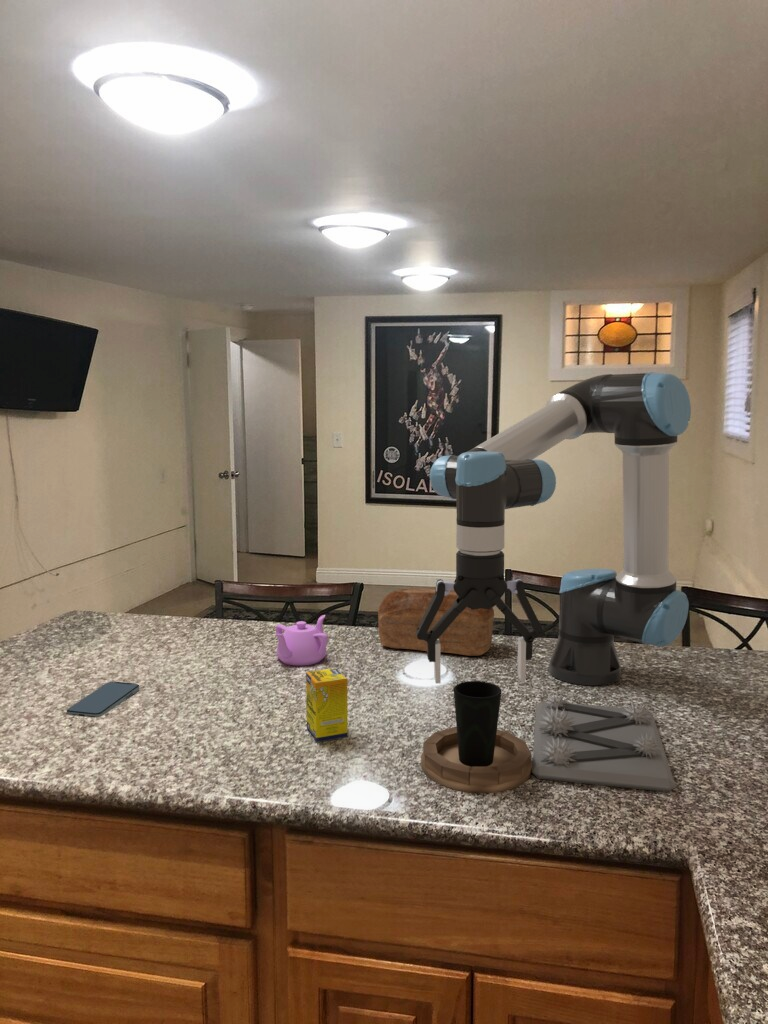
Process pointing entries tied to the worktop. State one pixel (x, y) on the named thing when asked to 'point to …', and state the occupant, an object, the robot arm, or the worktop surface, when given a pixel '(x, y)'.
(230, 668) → the worktop surface
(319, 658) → the teapot
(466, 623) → the bread
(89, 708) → the smartphone
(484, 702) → the cup
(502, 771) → the round tray
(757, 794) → the worktop surface
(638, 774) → the grey board with spikes
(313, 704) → the supplement box
